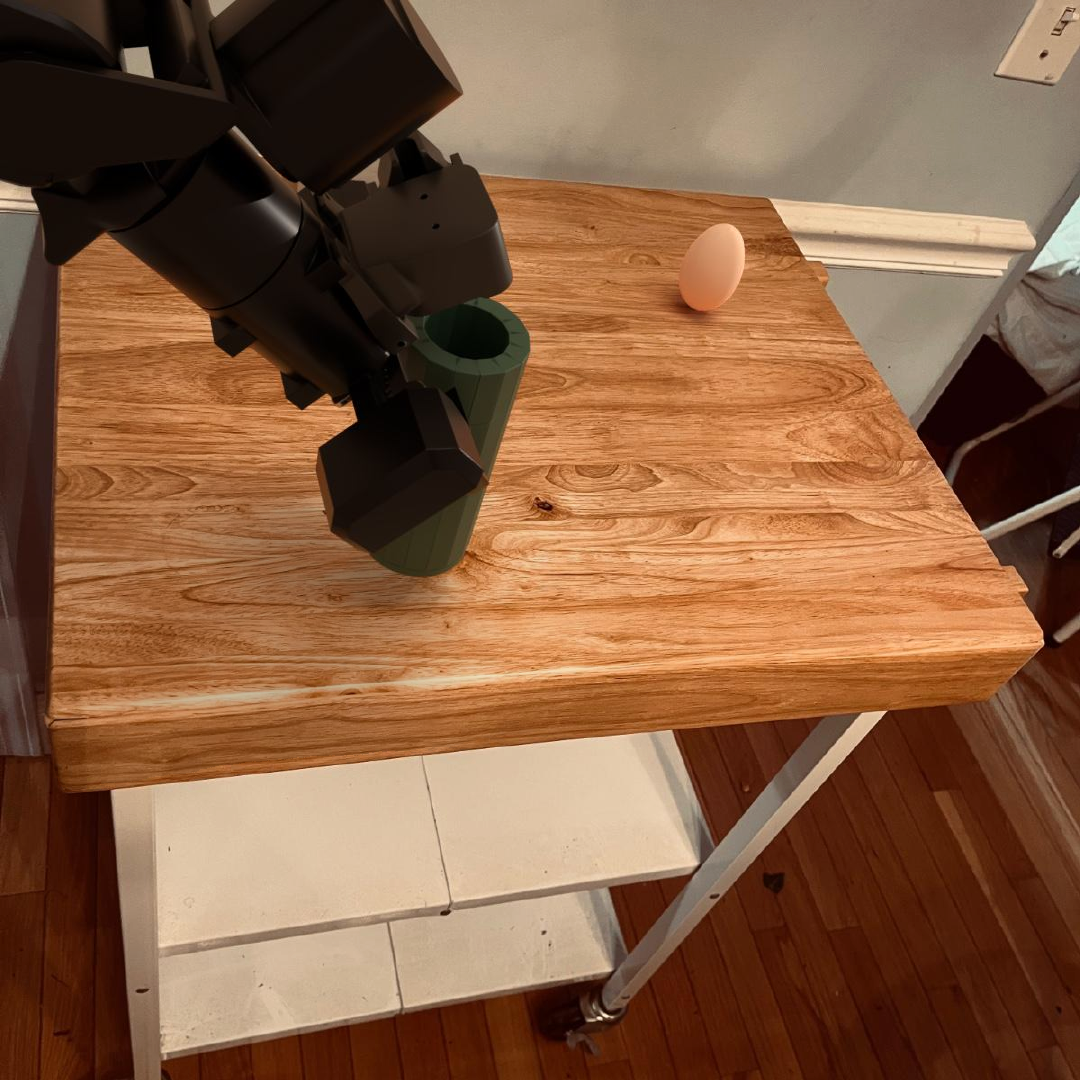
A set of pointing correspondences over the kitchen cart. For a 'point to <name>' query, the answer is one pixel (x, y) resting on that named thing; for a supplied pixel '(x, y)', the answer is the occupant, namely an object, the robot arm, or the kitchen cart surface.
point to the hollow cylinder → (487, 398)
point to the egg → (712, 267)
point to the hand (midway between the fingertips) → (464, 442)
